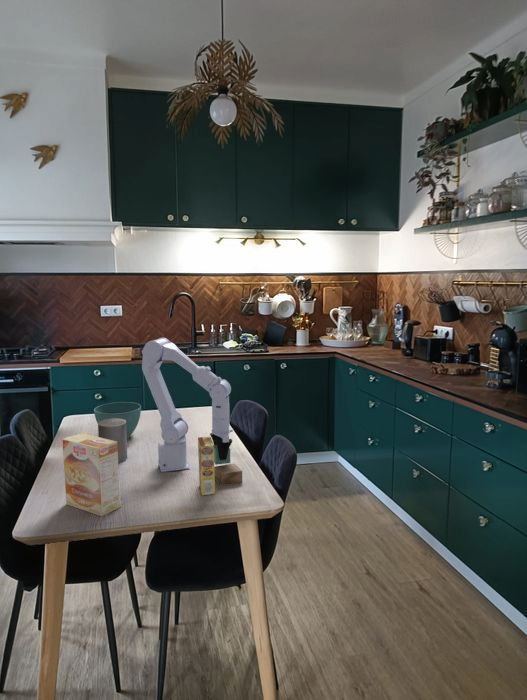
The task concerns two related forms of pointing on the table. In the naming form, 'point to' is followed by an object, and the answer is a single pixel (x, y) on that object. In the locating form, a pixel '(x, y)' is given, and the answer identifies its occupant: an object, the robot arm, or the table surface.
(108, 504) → the coffeecake box
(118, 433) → the pillar candle
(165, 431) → the robot arm
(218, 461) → the teal cube
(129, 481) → the table surface
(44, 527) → the table surface
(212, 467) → the candy box
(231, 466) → the block
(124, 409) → the green bowl
